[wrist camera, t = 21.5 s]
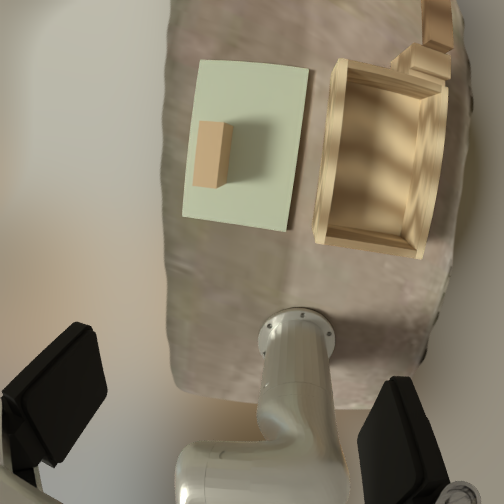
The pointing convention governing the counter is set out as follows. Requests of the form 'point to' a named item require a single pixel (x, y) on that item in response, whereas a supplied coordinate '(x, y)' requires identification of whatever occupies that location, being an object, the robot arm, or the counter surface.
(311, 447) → the robot arm
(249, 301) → the counter surface
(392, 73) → the tan wooden open box
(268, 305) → the counter surface
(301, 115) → the lid
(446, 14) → the rectangular brown block
